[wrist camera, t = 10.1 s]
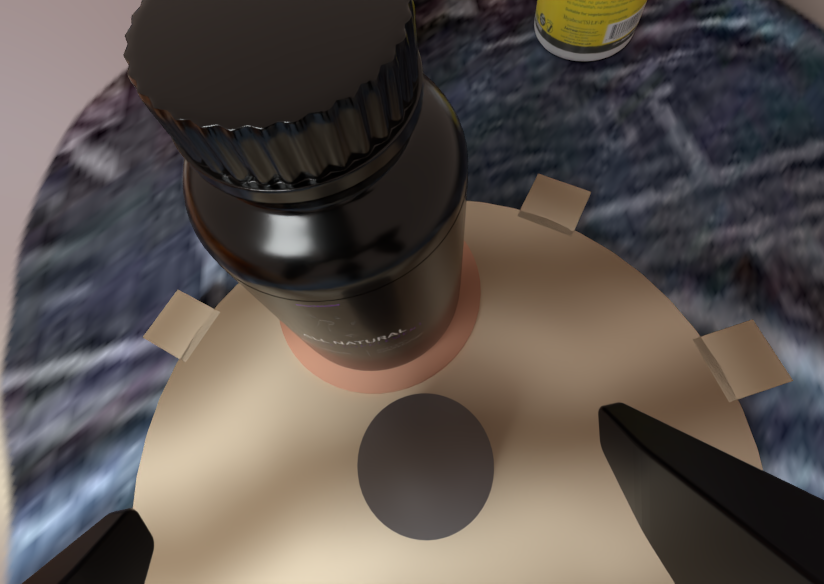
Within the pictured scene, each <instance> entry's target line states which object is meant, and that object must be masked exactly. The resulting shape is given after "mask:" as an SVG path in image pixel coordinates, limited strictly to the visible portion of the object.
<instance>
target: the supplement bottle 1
mask: <svg viewBox="0 0 824 584" xmlns="http://www.w3.org/2000/svg"><path fill="white" fill-rule="evenodd" d="M131 23H132V25H131V26H130V28H129V29H128V31H127V33H126V34H125V37H126V41H127V43H128V44H127V47H126V50H125V52H124V58H125V60H126V61H127V63H128V65H129V68H128V77H129V79H130V80H131V82H132V84H133V85H134V87H135V88H136V89H137V92H138V94H139V96H140V98H141V100H142V101H143V103H144V104H145V106H146V107H147V108H148V109H149V111H150V112H151V113H152V114H153V115H154V117H155V118H156V119H157V120H158V122H159V123H160V124H161V125H162V126H163V128H164V129H165V130H166V131H167V132H168V134H169V135H170V136H171V138H172V140H173V142H174V144H175V146H176V147H177V149H178V150H179V152H180V153H181V155H182V156H183V157H184V158H185V159H184V164H183V194H184V200H185V206H186V210H187V213H188V217H189V220H190V222H191V225H192V227H193V229H194V231H195V233H196V235H197V237H198V238H199V240H200V242H201V243H202V245H203V246H204V247H205V249H206V250H207V251H208V252H209V254H210V255H211V256H212V257H213V258H214V259H215V260H216V261H217V262H218V264H219V265H220V266H221V267H222V268H223V269H225V270H226V271H227V272H228V273H229V274H230V275H231V276H232V277H233V278H234V279H235V280H236V281H237V282H238V283H240V284H241V285H242V286H243V287H244V288H245V289H246V290H247V291H248V292H250V293H251V294H252V295H253V296H254V297H255V298H256V299H257V300H258V301H259V302H261V303H262V304H263V305H264V306H265V307H266V308H267V309H268V310H269V311H271V312H272V313H273V314H274V315H275V316H276V317H277V318H278V319H279V320H280V321H282V322H283V323H284V324H285V325H286V326H287V327H288V328H289V329H290V330H292V331H293V332H294V333H295V334H296V335H297V336H298V337H299V338H300V339H301V340H303V341H304V342H305V343H306V344H307V345H308V346H309V347H311V348H312V349H313V350H314V351H316V352H317V353H318V354H320V355H321V356H322V357H324V358H326V359H327V360H329V361H331V362H333V363H335V364H337V365H340V366H343V367H346V368H350V369H354V370H361V371H381V370H387V369H392V368H395V367H399V366H401V365H404V364H407V363H409V362H411V361H413V360H415V359H417V358H418V357H420V356H421V355H423V354H424V353H426V352H427V351H428V350H429V349H431V348H432V347H433V346H434V345H435V344H436V343H437V342H438V341H439V339H440V338H441V337H442V336H443V334H444V333H445V332H446V330H447V329H448V327H449V325H450V323H451V321H452V319H453V317H454V314H455V311H456V308H457V305H458V300H459V294H460V286H461V274H462V260H463V245H464V231H465V216H466V202H467V187H468V153H467V145H466V140H465V136H464V132H463V129H462V126H461V123H460V121H459V118H458V116H457V114H456V113H455V111H454V109H453V107H452V105H451V104H450V102H449V101H448V99H447V98H446V97H445V95H444V94H443V93H442V91H441V90H440V89H439V88H438V87H437V86H436V85H435V83H434V82H433V81H431V80H430V79H429V78H428V77H427V76H426V75H425V74H424V73H423V69H422V62H421V57H420V54H419V51H418V44H417V29H416V16H415V5H414V1H413V0H142V2H141V6H140V7H139V8H138V9H137V10H136V11H135V13H134V14H133V15H132V18H131Z"/></svg>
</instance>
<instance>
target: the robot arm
mask: <svg viewBox="0 0 824 584" xmlns="http://www.w3.org/2000/svg"><path fill="white" fill-rule="evenodd" d="M598 420H599V436H600V444H601V448H602V451H603V453H604V455H605V457H606V459H607V461H608V463H609V465H610V467H611V469H612V471H613V473H614V475H615V478H616V480H617V482H618V484H619V486H620V488H621V490H622V492H623V494H624V496H625V498H626V500H627V502H628V504H629V506H630V508H631V510H632V512H633V514H634V516H635V518H636V520H637V522H638V524H639V526H640V528H641V530H642V531H643V533H644V535H645V536H646V538H647V540H648V541H649V543H650V545H651V546H652V548H653V550H654V551H655V553H656V554H657V556H658V558H659V559H660V561H661V562H662V564H663V565H664V567H665V569H666V570H667V572H668V573H669V575H670V577H671V578H672V580H673V581H674V583H675V584H824V500H823V499H820V498H818V497H816V496H814V495H812V494H810V493H808V492H806V491H804V490H802V489H800V488H798V487H796V486H794V485H792V484H790V483H787V482H785V481H783V480H781V479H779V478H777V477H775V476H773V475H771V474H769V473H767V472H765V471H763V470H761V469H759V468H757V467H754V466H752V465H750V464H748V463H746V462H744V461H742V460H740V459H738V458H736V457H734V456H732V455H730V454H728V453H726V452H724V451H721V450H719V449H717V448H715V447H713V446H711V445H709V444H707V443H705V442H703V441H701V440H699V439H697V438H695V437H693V436H690V435H688V434H686V433H684V432H682V431H680V430H678V429H676V428H674V427H672V426H670V425H668V424H666V423H664V422H662V421H660V420H657V419H655V418H653V417H651V416H649V415H647V414H645V413H643V412H641V411H639V410H637V409H635V408H633V407H631V406H629V405H627V404H624V403H621V402H617V403H612V404H607V405H603V406H601V407H600V408H599V410H598ZM153 552H154V539H153V536H152V534H151V533H150V531H149V529H148V528H147V526H146V524H145V523H144V521H143V519H142V518H141V516H140V514H139V513H138V512H137V511H136V510H135V509H131V508H129V509H124V510H119V511H115V512H112V513H109V514H108V515H106V516H105V517H104V518H103V519H101V520H100V521H99V522H98V523H96V524H95V525H94V526H93V527H91V528H90V529H89V530H88V531H86V532H85V533H84V534H83V535H81V536H80V537H79V538H78V539H77V540H75V541H74V542H73V543H72V544H70V545H69V546H68V547H67V548H65V549H64V550H63V551H62V552H60V553H59V554H58V555H57V556H55V557H54V558H53V559H52V560H50V561H49V562H48V563H47V564H46V565H44V566H43V567H42V568H41V569H39V570H38V571H37V572H36V573H34V574H33V575H32V576H31V577H29V578H28V579H27V580H26V581H24V582H23V583H22V584H145V581H146V577H147V574H148V570H149V566H150V563H151V559H152V555H153Z"/></svg>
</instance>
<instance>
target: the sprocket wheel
mask: <svg viewBox="0 0 824 584" xmlns="http://www.w3.org/2000/svg"><path fill="white" fill-rule="evenodd" d="M590 194H591V192H590V191H587V190H584V189H581V188H578V187H575V186H573V185H570V184H567V183H564V182H561V181H558V180H555V179H552V178H550V177H547V176H544V175H541V174H538V175H537V177H536V179H535V181H534V183H533V185H532V187H531V189H530V191H529V193H528V195H527V197H526V199H525V201H524V203H523V205H522V207H521V209H520V210H518V209H515V208H510V207H504V206H499V205H494V204H489V203H484V202H473V201H467V202H466V216H465V231H464V245H463V260H462V274H461V286H460V294H459V300H458V305H457V308H456V311H455V314H454V317H453V319H452V321H451V323H450V325H449V327H448V329H447V330H446V332H445V333H444V334H443V336H442V337H441V338H440V339H439V341H438V342H437V343H436V344H435V345H434V346H433V347H432V348H431V349H429V350H428V351H427V352H426V353H424V354H423V355H421V356H420V357H418V358H417V359H415V360H413V361H411V362H409V363H407V364H404V365H401V366H399V367H395V368H392V369H387V370H381V371H361V370H354V369H350V368H346V367H343V366H340V365H337V364H335V363H333V362H331V361H329V360H327V359H326V358H324V357H322V356H321V355H320V354H318V353H317V352H316V351H314V350H313V349H312V348H311V347H309V346H308V345H307V344H306V343H305V342H304V341H303V340H301V339H300V338H299V337H298V336H297V335H296V334H295V333H294V332H293V331H292V330H290V329H289V328H288V327H287V326H286V325H285V324H284V323H283V322H282V321H280V320H279V319H278V318H277V317H276V316H275V315H274V314H273V313H272V312H271V311H269V310H268V309H267V308H266V307H265V306H264V305H263V304H262V303H261V302H259V301H258V300H257V299H256V298H255V297H254V296H253V295H252V294H251V293H250V292H248V291H247V290H246V289H245V288H244V287H243V286H242V285H241V284H240V283H238V284H237V285H236V286H235V287H234V288H233V289H232V290H231V291H230V293H229V294H228V295H227V296H226V297H225V298H224V299H223V300H222V301H221V302H220V303H219V304H218V305H217V306H216V308H215V309H213V308H211V307H209V306H208V305H206V304H204V303H202V302H200V301H198V300H196V299H194V298H193V297H191V296H189V295H187V294H185V293H183V292H181V291H179V290H177V292H176V293H175V294H174V296H173V297H172V298H171V300H170V301H169V302H168V304H167V305H166V306H165V308H164V309H163V311H162V312H161V313H160V315H159V316H158V317H157V319H156V320H155V321H154V323H153V324H152V326H151V327H150V328H149V330H148V331H147V332H146V334H145V335H144V336H143V338H145V339H146V340H148V341H150V342H152V343H153V344H155V345H157V346H158V347H160V348H162V349H164V350H165V351H167V352H169V353H170V354H172V355H174V356H176V357H177V358H179V361H178V362H177V364H176V366H175V368H174V370H173V372H172V374H171V376H170V378H169V380H168V383H167V385H166V387H165V389H164V391H163V393H162V395H161V397H160V399H159V402H158V405H157V408H156V411H155V413H154V416H153V419H152V422H151V425H150V428H149V430H148V433H147V436H146V440H145V444H144V449H143V453H142V457H141V461H140V465H139V470H138V474H137V479H136V488H135V496H134V504H133V509H135V510H136V511H137V512H138V513H139V514H140V516H141V518H142V519H143V521H144V523H145V524H146V526H147V528H148V529H149V531H150V533H151V534H152V536H153V539H154V552H153V555H152V559H151V563H150V566H149V570H148V574H147V577H146V581H145V584H675V583H674V581H673V580H672V578H671V577H670V575H669V573H668V572H667V570H666V569H665V567H664V565H663V564H662V562H661V561H660V559H659V558H658V556H657V554H656V553H655V551H654V550H653V548H652V546H651V545H650V543H649V541H648V540H647V538H646V536H645V535H644V533H643V531H642V530H641V528H640V526H639V524H638V522H637V520H636V518H635V516H634V514H633V512H632V510H631V508H630V506H629V504H628V502H627V500H626V498H625V496H624V494H623V492H622V490H621V488H620V486H619V484H618V482H617V480H616V478H615V475H614V473H613V471H612V469H611V467H610V465H609V463H608V461H607V459H606V457H605V455H604V453H603V451H602V448H601V444H600V436H599V420H598V410H599V408H600V407H601V406H603V405H607V404H612V403H617V402H621V403H624V404H627V405H629V406H631V407H633V408H635V409H637V410H639V411H641V412H643V413H645V414H647V415H649V416H651V417H653V418H655V419H657V420H660V421H662V422H664V423H666V424H668V425H670V426H672V427H674V428H676V429H678V430H680V431H682V432H684V433H686V434H688V435H690V436H693V437H695V438H697V439H699V440H701V441H703V442H705V443H707V444H709V445H711V446H713V447H715V448H717V449H719V450H721V451H724V452H726V453H728V454H730V455H732V456H734V457H736V458H738V459H740V460H742V461H744V462H746V463H748V464H750V465H752V466H754V467H757V468H759V469H761V470H763V468H762V464H761V460H760V456H759V452H758V449H757V446H756V443H755V441H754V438H753V436H752V433H751V430H750V428H749V425H748V422H747V420H746V417H745V415H744V412H743V409H742V407H741V405H740V403H739V401H738V399H741V398H744V397H746V396H749V395H752V394H755V393H758V392H761V391H764V390H767V389H770V388H773V387H776V386H779V385H782V384H785V383H788V382H791V381H793V380H792V378H791V377H790V375H789V374H788V372H787V371H786V369H785V368H784V366H783V365H782V363H781V362H780V360H779V359H778V357H777V355H776V354H775V352H774V351H773V349H772V348H771V346H770V345H769V343H768V342H767V340H766V339H765V337H764V336H763V334H762V333H761V331H760V330H759V328H758V326H757V325H756V323H755V322H754V320H753V319H752V320H749V321H746V322H743V323H740V324H737V325H734V326H731V327H728V328H725V329H722V330H719V331H716V332H713V333H710V334H707V335H704V336H701V337H700V335H699V334H698V332H697V331H696V330H695V329H694V327H693V326H692V325H691V324H690V323H689V322H688V320H687V319H686V318H685V317H684V316H683V315H682V313H681V312H680V311H679V310H678V309H677V308H676V306H675V305H674V304H673V303H672V302H671V301H670V300H669V299H668V298H667V297H666V296H665V295H664V294H663V293H662V292H661V291H660V290H659V289H658V288H656V287H655V286H654V285H653V284H652V283H651V282H650V281H649V280H648V279H647V278H646V277H645V276H644V275H643V274H641V273H640V272H639V271H637V270H636V269H635V268H633V267H632V266H631V265H629V264H628V263H627V262H625V261H624V260H623V259H621V258H620V257H618V256H617V255H616V254H614V253H613V252H612V251H610V250H608V249H607V248H605V247H603V246H602V245H600V244H598V243H596V242H595V241H593V240H591V239H589V238H588V237H586V236H584V235H583V234H581V233H579V232H577V231H574V230H575V227H576V225H577V223H578V221H579V218H580V216H581V214H582V212H583V210H584V207H585V205H586V203H587V201H588V198H589V196H590Z"/></svg>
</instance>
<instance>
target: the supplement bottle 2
mask: <svg viewBox="0 0 824 584" xmlns="http://www.w3.org/2000/svg"><path fill="white" fill-rule="evenodd" d="M646 2H647V0H537V6H536V13H535V22H534V27H535V33H536V36H537V38H538V40H539V42H540V43H541V44H542V45H543V47H544V48H545V49H546V50H548V51H549V52H551V53H552V54H554V55H556V56H558V57H561V58H564V59H568V60H572V61H595V60H600V59H604V58H607V57H609V56H612V55H614V54H615V53H617V52H618V51H620V50H621V49H622V48H624V47H625V46H626V45H627V44H628V42H629V41H630V39H631V38H632V36H633V34H634V32H635V29H636V27H637V25H638V23H639V20H640V18H641V15H642V12H643V10H644V7H645V5H646Z"/></svg>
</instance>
